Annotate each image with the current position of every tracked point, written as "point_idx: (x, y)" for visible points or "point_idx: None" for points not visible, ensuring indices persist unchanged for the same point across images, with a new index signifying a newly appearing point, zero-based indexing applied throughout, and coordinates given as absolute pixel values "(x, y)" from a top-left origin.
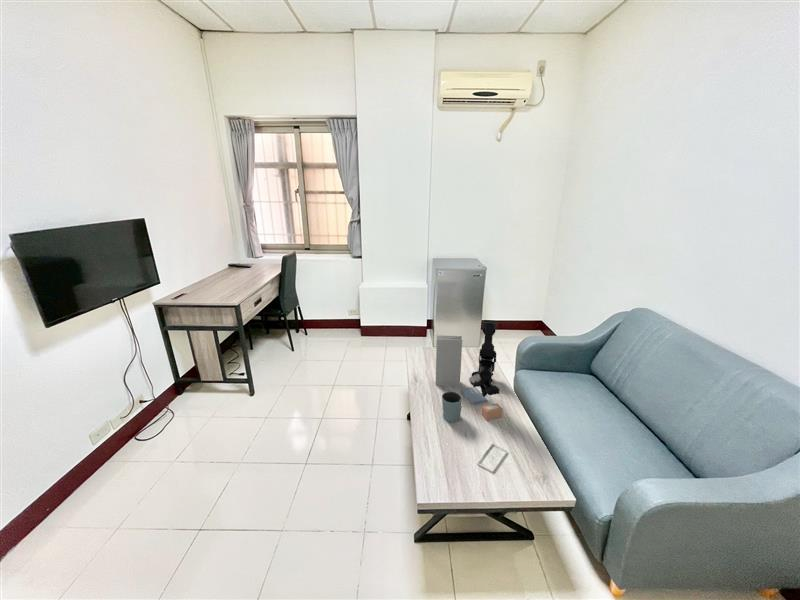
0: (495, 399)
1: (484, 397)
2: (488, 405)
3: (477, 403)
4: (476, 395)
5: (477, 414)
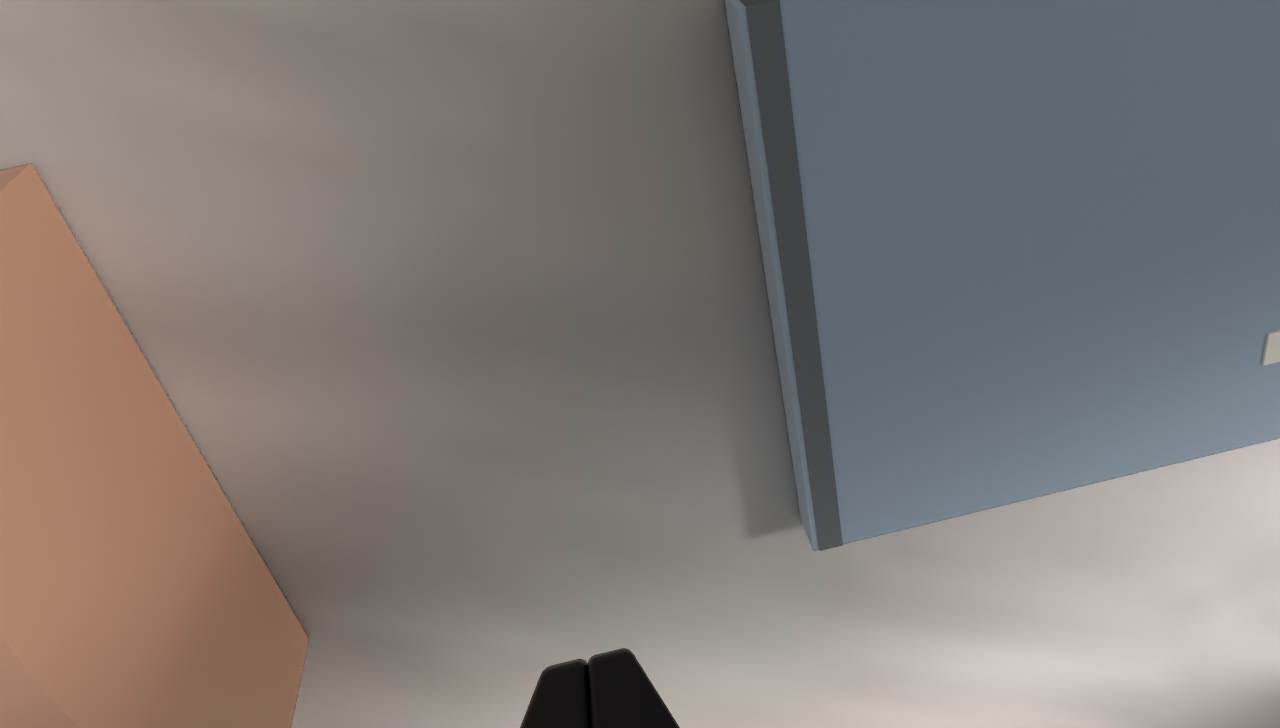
0: (849, 692)
1: (975, 493)
2: (3, 675)
3: (756, 198)
4: (1171, 279)
5: (17, 10)
